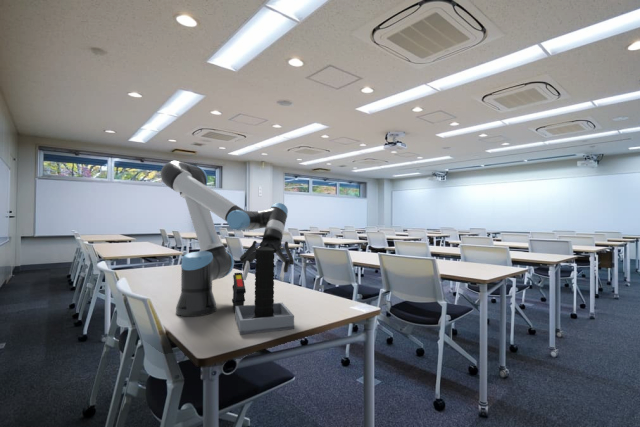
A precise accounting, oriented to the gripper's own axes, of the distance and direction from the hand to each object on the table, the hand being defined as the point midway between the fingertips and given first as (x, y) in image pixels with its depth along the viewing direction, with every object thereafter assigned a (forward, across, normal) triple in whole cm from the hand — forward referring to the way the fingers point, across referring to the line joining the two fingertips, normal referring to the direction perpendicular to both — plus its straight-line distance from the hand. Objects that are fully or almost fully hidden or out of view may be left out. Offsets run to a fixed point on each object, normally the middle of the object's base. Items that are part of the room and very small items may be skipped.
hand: (262, 278), depth 113 cm
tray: (+10, 0, -13) cm, 16 cm away
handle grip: (+10, 0, -12) cm, 16 cm away
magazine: (+1, +14, -22) cm, 27 cm away
